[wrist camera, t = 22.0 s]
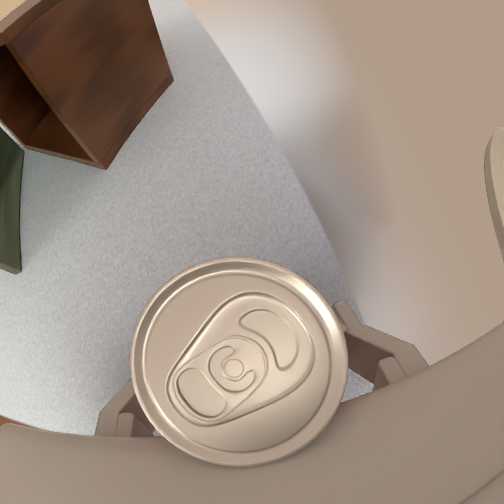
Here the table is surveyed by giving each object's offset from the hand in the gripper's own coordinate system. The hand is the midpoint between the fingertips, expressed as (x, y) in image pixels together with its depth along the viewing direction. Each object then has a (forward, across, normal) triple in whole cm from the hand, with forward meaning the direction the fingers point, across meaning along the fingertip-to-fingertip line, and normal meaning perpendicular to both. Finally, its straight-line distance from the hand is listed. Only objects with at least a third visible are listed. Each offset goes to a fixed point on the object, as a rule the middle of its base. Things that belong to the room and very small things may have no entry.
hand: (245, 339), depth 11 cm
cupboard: (+22, +12, -13) cm, 29 cm away
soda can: (+4, 0, +5) cm, 7 cm away
